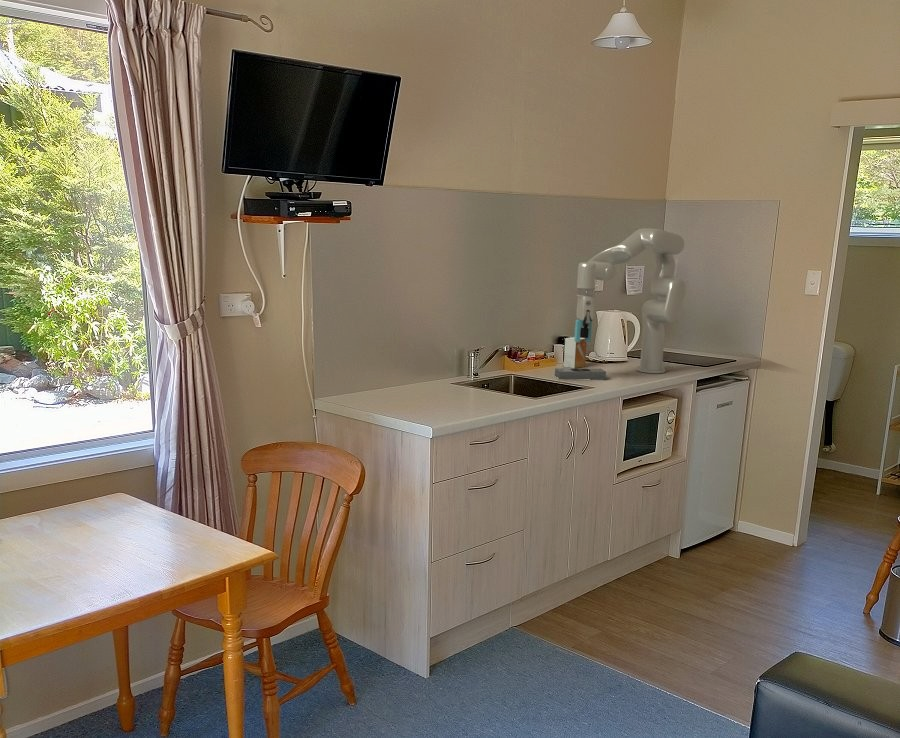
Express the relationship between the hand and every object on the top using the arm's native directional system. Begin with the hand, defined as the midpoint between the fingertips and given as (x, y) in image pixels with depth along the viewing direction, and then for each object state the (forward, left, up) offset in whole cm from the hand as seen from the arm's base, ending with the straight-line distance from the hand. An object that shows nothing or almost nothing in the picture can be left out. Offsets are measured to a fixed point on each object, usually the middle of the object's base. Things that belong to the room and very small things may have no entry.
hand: (582, 336), depth 334 cm
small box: (-5, -26, -18) cm, 32 cm away
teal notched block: (0, 0, -2) cm, 2 cm away
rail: (0, 0, -18) cm, 18 cm away
